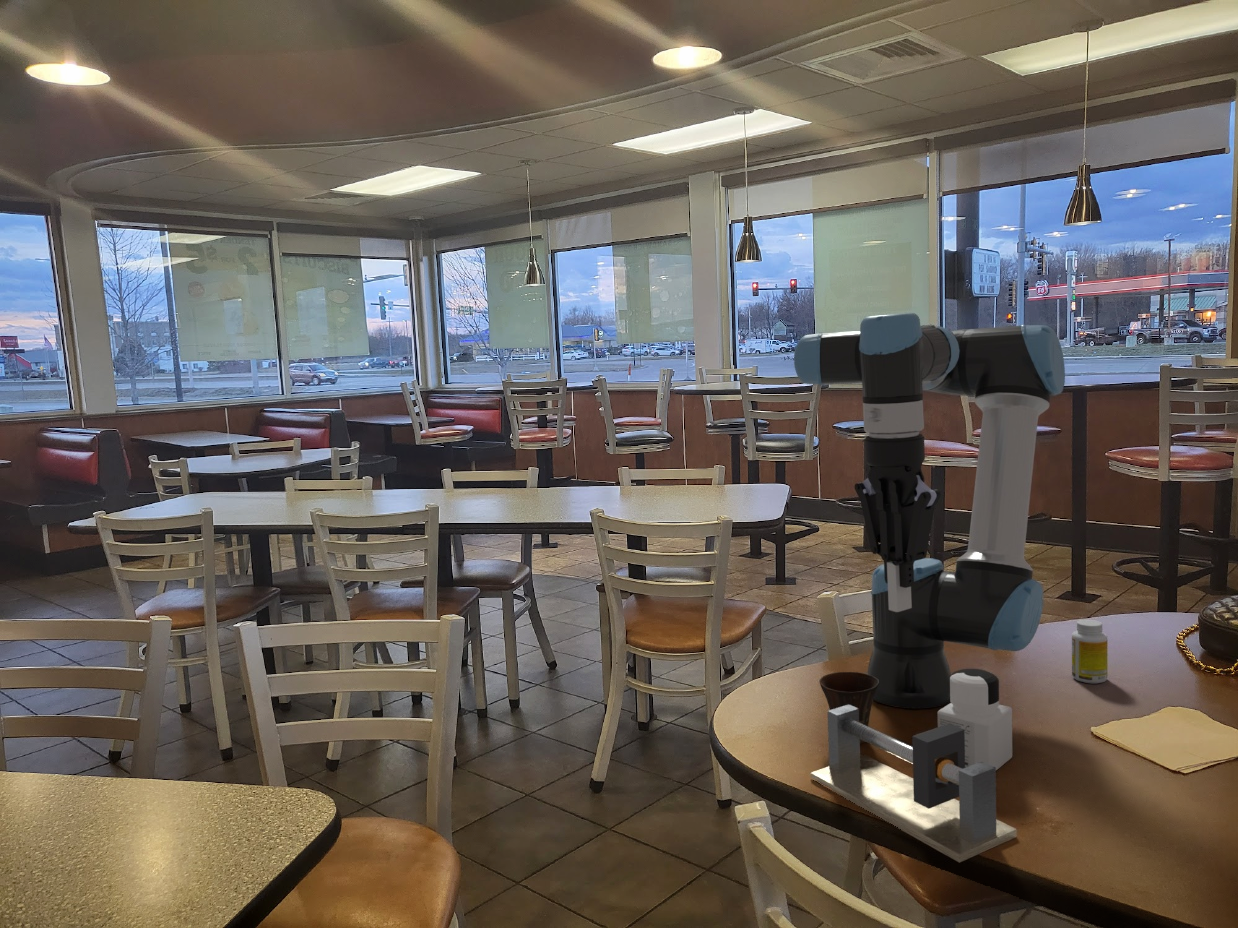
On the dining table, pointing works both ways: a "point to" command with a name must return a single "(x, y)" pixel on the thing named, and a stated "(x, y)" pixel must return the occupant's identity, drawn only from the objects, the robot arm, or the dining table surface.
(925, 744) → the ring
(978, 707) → the container
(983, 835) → the rail
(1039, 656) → the dining table surface
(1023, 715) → the dining table surface
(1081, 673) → the supplement bottle
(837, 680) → the cup
